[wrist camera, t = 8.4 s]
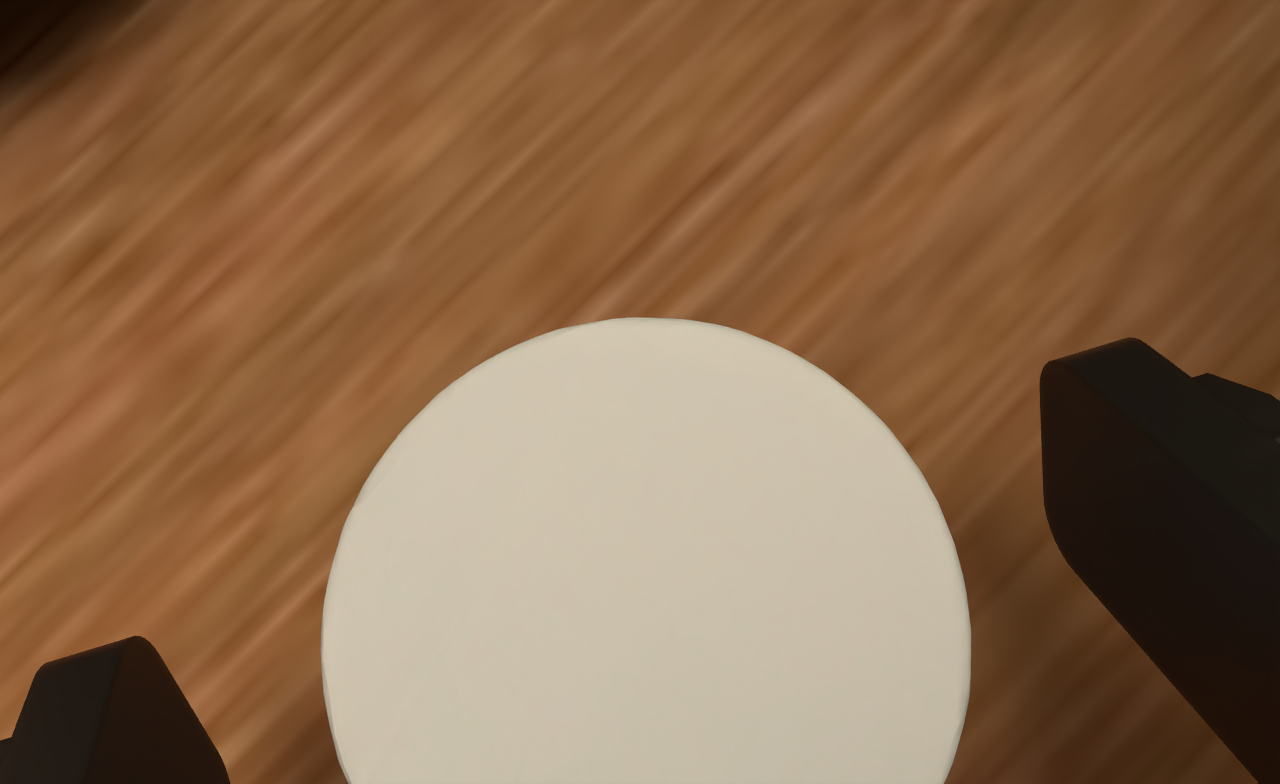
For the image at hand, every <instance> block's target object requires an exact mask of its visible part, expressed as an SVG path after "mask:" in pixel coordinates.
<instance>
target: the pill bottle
mask: <svg viewBox="0 0 1280 784" xmlns="http://www.w3.org/2000/svg"><path fill="white" fill-rule="evenodd" d="M321 664H322V678H323V693H324V699H325V704H326V709H327V714H328V719H329V725H330V729H331V733H332V737H333V741H334V745H335V749H336V753H337V757H338V761H339V763H340V766H341V768H342V770H343V772H344V775H345V777H346V779H347V782H348V784H944V783H945V780H946V778H947V776H948V773H949V771H950V769H951V767H952V764H953V761H954V758H955V754H956V751H957V747H958V744H959V740H960V737H961V733H962V729H963V725H964V721H965V716H966V712H967V707H968V702H969V697H970V677H971V626H970V617H969V609H968V600H967V593H966V588H965V583H964V577H963V574H962V570H961V566H960V562H959V559H958V555H957V551H956V548H955V544H954V541H953V539H952V536H951V534H950V531H949V529H948V526H947V524H946V521H945V519H944V516H943V513H942V511H941V508H940V506H939V503H938V502H937V500H936V498H935V496H934V494H933V492H932V491H931V489H930V487H929V485H928V483H927V481H926V480H925V478H924V476H923V474H922V472H921V471H920V469H919V468H918V467H917V465H916V464H915V462H914V461H913V460H912V458H911V457H910V456H909V454H908V453H907V451H906V450H905V449H904V447H903V446H902V445H901V443H900V442H899V441H898V440H897V438H896V437H895V436H894V434H893V433H892V432H891V431H890V429H889V428H888V427H887V426H886V425H885V423H884V422H883V421H882V420H881V419H880V418H879V417H878V416H877V415H876V414H875V413H874V412H873V411H872V410H870V409H869V408H868V407H867V406H866V405H865V404H864V403H863V402H862V401H860V400H859V399H858V398H857V397H856V396H855V395H854V394H853V393H852V392H850V391H849V390H848V389H847V388H845V387H844V386H843V385H841V384H840V383H839V382H838V381H836V380H835V379H834V378H832V377H831V376H830V375H829V374H827V373H826V372H824V371H823V370H821V369H819V368H818V367H816V366H815V365H813V364H811V363H810V362H808V361H807V360H805V359H803V358H801V357H799V356H798V355H796V354H794V353H792V352H790V351H788V350H786V349H784V348H782V347H780V346H777V345H775V344H773V343H771V342H768V341H766V340H763V339H761V338H758V337H756V336H753V335H751V334H748V333H746V332H743V331H740V330H736V329H733V328H729V327H725V326H722V325H716V324H711V323H705V322H699V321H693V320H685V319H673V318H637V317H630V318H619V319H610V320H604V321H598V322H591V323H586V324H582V325H577V326H572V327H567V328H562V329H557V330H554V331H552V332H549V333H546V334H543V335H540V336H537V337H535V338H532V339H530V340H527V341H525V342H522V343H520V344H518V345H516V346H513V347H511V348H509V349H507V350H505V351H503V352H501V353H499V354H497V355H496V356H494V357H492V358H490V359H488V360H486V361H484V362H483V363H481V364H479V365H478V366H476V367H474V368H473V369H472V370H470V371H469V372H467V373H466V374H464V375H463V376H461V377H460V378H458V379H457V380H455V381H454V382H453V383H451V384H450V385H449V386H448V387H446V388H445V389H444V390H442V391H441V392H440V393H439V394H437V395H436V396H435V397H434V398H433V399H432V401H431V402H430V403H429V404H428V405H427V406H426V407H425V408H424V409H423V410H422V411H421V412H420V413H419V414H418V415H417V416H416V417H415V418H414V419H413V420H412V421H411V422H410V423H409V424H408V425H407V426H406V427H405V428H404V429H403V430H402V431H401V433H400V434H399V435H398V436H397V438H396V439H395V440H394V442H393V443H392V444H391V445H390V447H389V448H388V449H387V451H386V452H385V453H384V455H383V456H382V458H381V459H380V460H379V462H378V463H377V464H376V466H375V467H374V469H373V471H372V472H371V474H370V475H369V477H368V479H367V480H366V482H365V483H364V485H363V487H362V489H361V491H360V493H359V495H358V497H357V500H356V502H355V504H354V506H353V508H352V510H351V512H350V514H349V515H348V518H347V520H346V522H345V524H344V527H343V529H342V533H341V536H340V540H339V543H338V547H337V551H336V554H335V557H334V560H333V564H332V568H331V572H330V576H329V580H328V585H327V590H326V595H325V601H324V606H323V616H322V627H321Z"/></svg>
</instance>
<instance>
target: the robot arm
mask: <svg viewBox="0 0 1280 784" xmlns="http://www.w3.org/2000/svg"><path fill="white" fill-rule="evenodd" d="M1040 411H1041V439H1042V466H1043V493H1044V506H1045V511H1046V516H1047V520H1048V523H1049V526H1050V529H1051V532H1052V534H1053V537H1054V539H1055V542H1056V544H1057V546H1058V548H1059V550H1060V551H1061V553H1062V555H1063V557H1064V558H1065V560H1066V561H1067V563H1068V564H1069V565H1070V567H1071V568H1072V569H1073V570H1074V572H1075V573H1076V574H1077V575H1078V576H1079V577H1080V578H1081V580H1082V581H1083V582H1084V583H1085V584H1086V585H1087V587H1088V588H1089V589H1090V590H1091V591H1092V592H1093V593H1094V595H1095V596H1096V597H1097V598H1098V599H1099V600H1100V601H1101V603H1102V604H1103V605H1104V606H1105V607H1106V608H1107V609H1108V611H1109V612H1110V613H1111V614H1112V615H1113V616H1114V617H1115V619H1116V620H1117V621H1118V622H1119V623H1120V624H1121V625H1122V627H1123V628H1124V629H1125V630H1126V631H1127V632H1128V634H1129V635H1130V636H1131V637H1132V638H1133V639H1134V640H1135V642H1136V643H1137V644H1138V645H1139V646H1140V647H1141V648H1142V650H1143V651H1144V652H1145V653H1146V654H1147V655H1148V656H1149V658H1150V659H1151V660H1152V661H1153V662H1154V663H1155V664H1156V666H1157V667H1158V668H1159V669H1160V670H1161V671H1162V673H1163V674H1164V675H1165V676H1166V677H1167V678H1168V679H1169V681H1170V682H1171V683H1172V684H1173V685H1174V686H1175V687H1176V689H1177V690H1178V691H1179V692H1180V693H1181V694H1182V695H1183V697H1184V698H1185V699H1186V700H1187V701H1188V702H1189V703H1190V705H1191V706H1192V707H1193V708H1194V709H1195V710H1196V712H1197V713H1198V714H1199V715H1200V716H1201V717H1202V718H1203V720H1204V721H1205V722H1206V723H1207V724H1208V725H1209V726H1210V728H1211V729H1212V730H1213V731H1214V732H1215V733H1216V734H1217V736H1218V737H1219V738H1220V739H1221V740H1222V741H1223V742H1224V744H1225V745H1226V746H1227V747H1228V748H1229V749H1230V751H1231V752H1232V753H1233V754H1234V755H1235V756H1236V757H1237V759H1238V760H1239V761H1240V762H1241V763H1242V764H1243V765H1244V767H1245V768H1246V769H1247V770H1248V771H1249V772H1250V773H1251V775H1252V776H1253V777H1254V778H1255V779H1256V780H1257V781H1258V783H1259V784H1280V401H1279V400H1277V399H1276V398H1275V397H1273V396H1272V395H1270V394H1267V393H1264V392H1261V391H1258V390H1255V389H1252V388H1250V387H1247V386H1244V385H1241V384H1238V383H1235V382H1232V381H1229V380H1226V379H1223V378H1221V377H1218V376H1215V375H1212V374H1209V373H1206V374H1203V375H1200V376H1196V377H1193V378H1191V377H1190V376H1189V375H1187V374H1186V373H1185V372H1183V371H1182V370H1181V369H1179V368H1178V367H1177V366H1175V365H1174V364H1173V363H1171V362H1170V361H1169V360H1167V359H1166V358H1165V357H1163V356H1162V355H1161V354H1159V353H1158V352H1156V351H1155V350H1154V349H1152V348H1151V347H1150V346H1148V345H1147V344H1146V343H1144V342H1142V341H1141V340H1139V339H1136V338H1125V339H1122V340H1118V341H1115V342H1112V343H1108V344H1105V345H1102V346H1099V347H1095V348H1092V349H1089V350H1085V351H1082V352H1079V353H1075V354H1072V355H1069V356H1066V357H1062V358H1059V359H1056V360H1052V361H1049V362H1048V363H1047V364H1045V366H1044V368H1043V370H1042V373H1041V377H1040ZM0 784H230V781H229V777H228V774H227V771H226V768H225V765H224V763H223V761H222V758H221V756H220V755H219V753H218V751H217V749H216V748H215V746H214V744H213V743H212V741H211V739H210V738H209V736H208V734H207V733H206V731H205V729H204V728H203V726H202V724H201V723H200V721H199V719H198V718H197V716H196V714H195V713H194V711H193V709H192V708H191V706H190V705H189V703H188V701H187V700H186V698H185V696H184V695H183V693H182V691H181V690H180V688H179V686H178V685H177V683H176V681H175V680H174V678H173V676H172V675H171V673H170V671H169V670H168V668H167V666H166V665H165V663H164V661H163V660H162V658H161V656H160V655H159V653H158V652H157V650H156V649H155V648H154V646H153V645H152V644H151V643H150V642H149V641H147V640H146V639H145V638H143V637H140V636H133V637H130V638H127V639H123V640H120V641H117V642H113V643H110V644H107V645H103V646H100V647H97V648H94V649H90V650H87V651H84V652H80V653H77V654H74V655H70V656H67V657H64V658H61V659H57V660H54V661H51V662H47V663H45V664H44V665H43V666H41V667H40V669H39V670H38V671H37V673H36V675H35V677H34V679H33V682H32V684H31V687H30V690H29V692H28V695H27V698H26V700H25V703H24V706H23V708H22V711H21V713H20V716H19V719H18V721H17V724H16V727H15V729H14V732H13V735H12V737H11V738H8V739H4V740H1V741H0Z"/></svg>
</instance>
